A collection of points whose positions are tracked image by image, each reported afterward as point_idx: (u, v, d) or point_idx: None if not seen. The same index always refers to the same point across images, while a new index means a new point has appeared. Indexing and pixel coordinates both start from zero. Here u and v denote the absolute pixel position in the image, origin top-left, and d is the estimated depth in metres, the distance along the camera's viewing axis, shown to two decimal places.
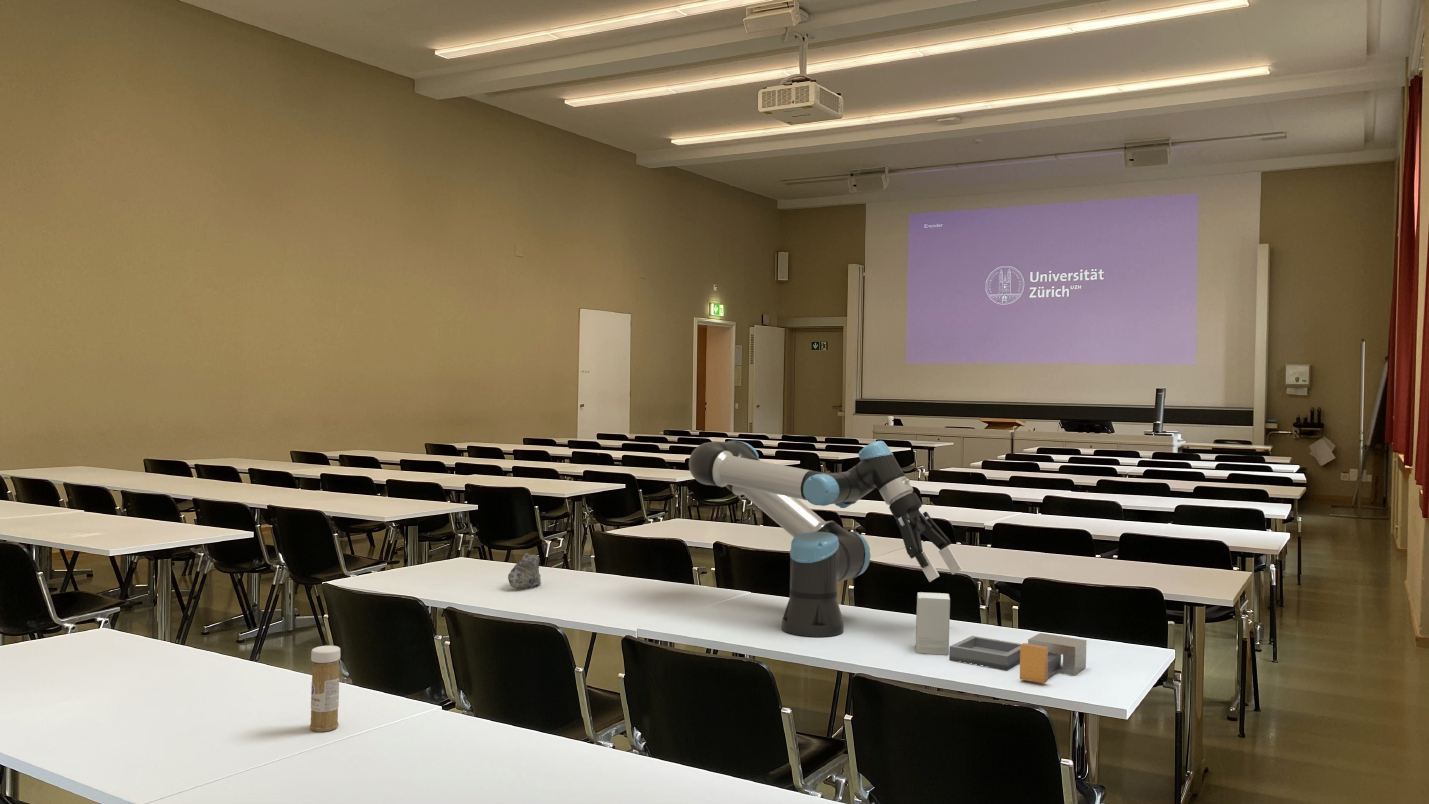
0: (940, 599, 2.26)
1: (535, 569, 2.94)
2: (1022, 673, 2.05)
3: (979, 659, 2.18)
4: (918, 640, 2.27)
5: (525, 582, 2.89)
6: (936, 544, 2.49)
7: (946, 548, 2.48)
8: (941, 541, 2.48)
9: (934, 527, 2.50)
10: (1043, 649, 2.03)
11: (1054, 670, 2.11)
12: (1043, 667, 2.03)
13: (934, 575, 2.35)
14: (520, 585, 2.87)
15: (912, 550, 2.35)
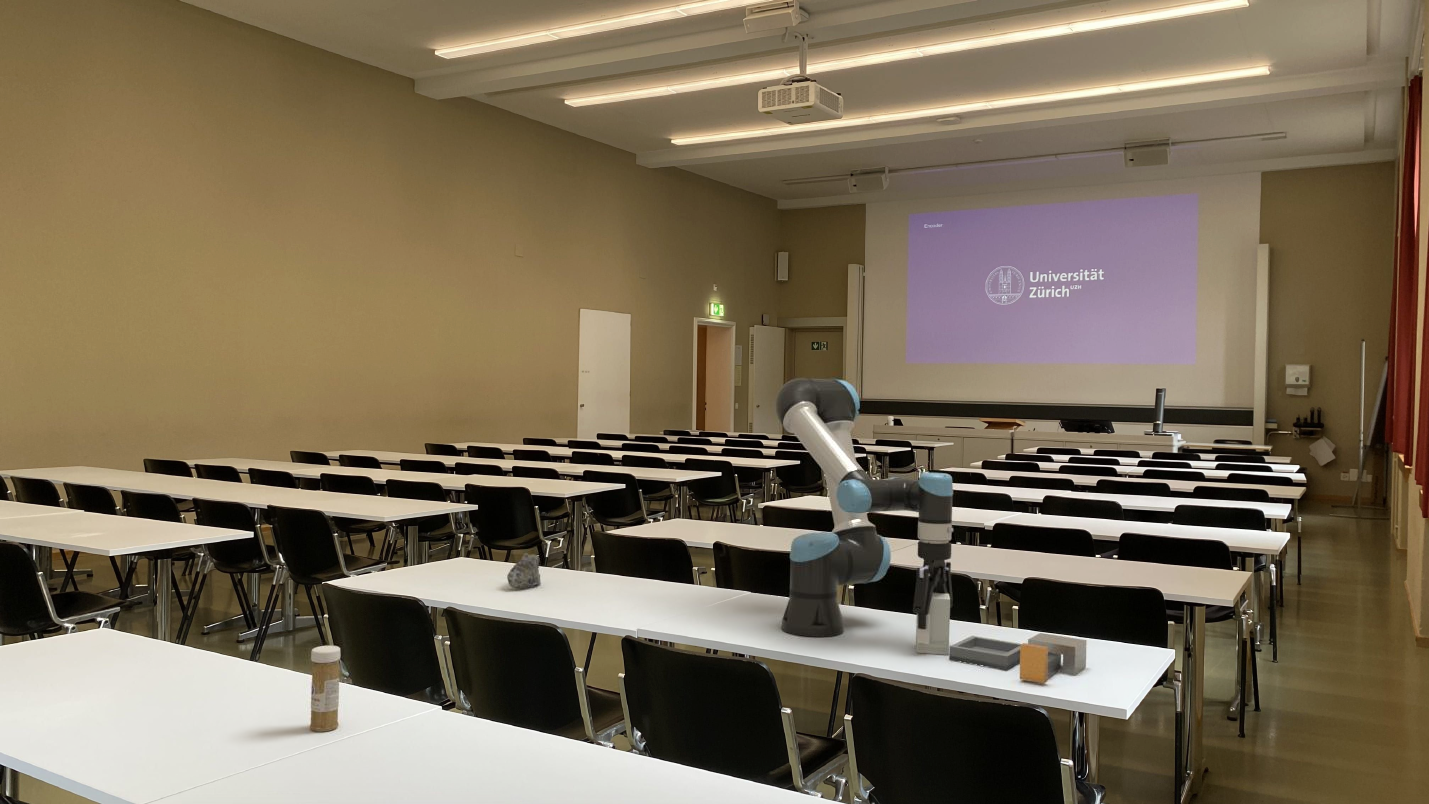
0: (940, 599, 2.26)
1: (535, 569, 2.94)
2: (1022, 673, 2.05)
3: (979, 659, 2.18)
4: None
5: (524, 582, 2.89)
6: None
7: None
8: None
9: (947, 581, 2.34)
10: (1043, 649, 2.03)
11: (1054, 670, 2.11)
12: (1043, 667, 2.03)
13: (925, 640, 2.25)
14: (519, 585, 2.88)
15: (918, 610, 2.23)
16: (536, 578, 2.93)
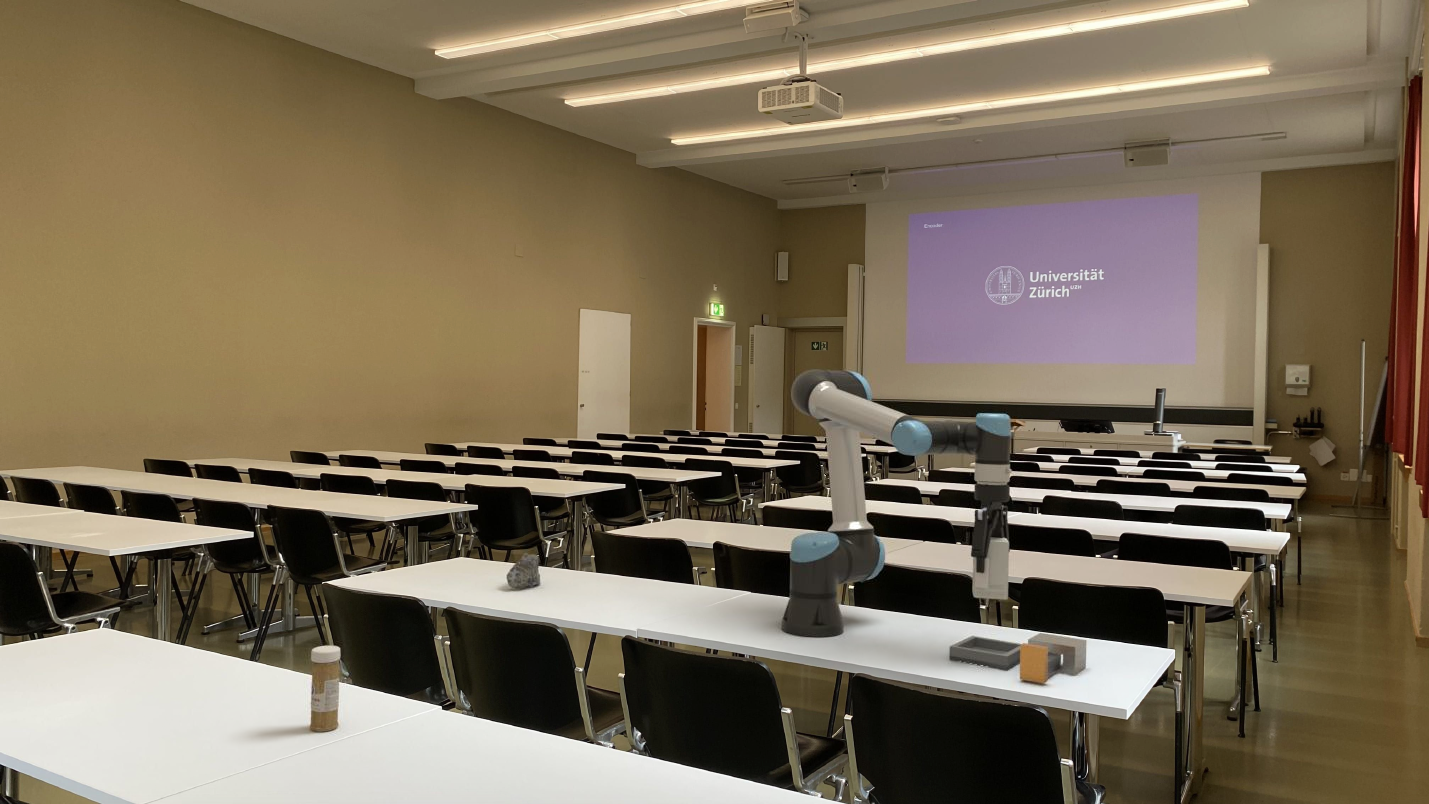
0: (999, 542, 2.19)
1: (534, 569, 2.94)
2: (1022, 673, 2.05)
3: (979, 659, 2.18)
4: None
5: (524, 582, 2.89)
6: None
7: None
8: None
9: (1004, 525, 2.27)
10: (1043, 649, 2.03)
11: (1054, 670, 2.11)
12: (1043, 667, 2.03)
13: (983, 585, 2.18)
14: (518, 585, 2.88)
15: (977, 553, 2.16)
16: (536, 578, 2.93)
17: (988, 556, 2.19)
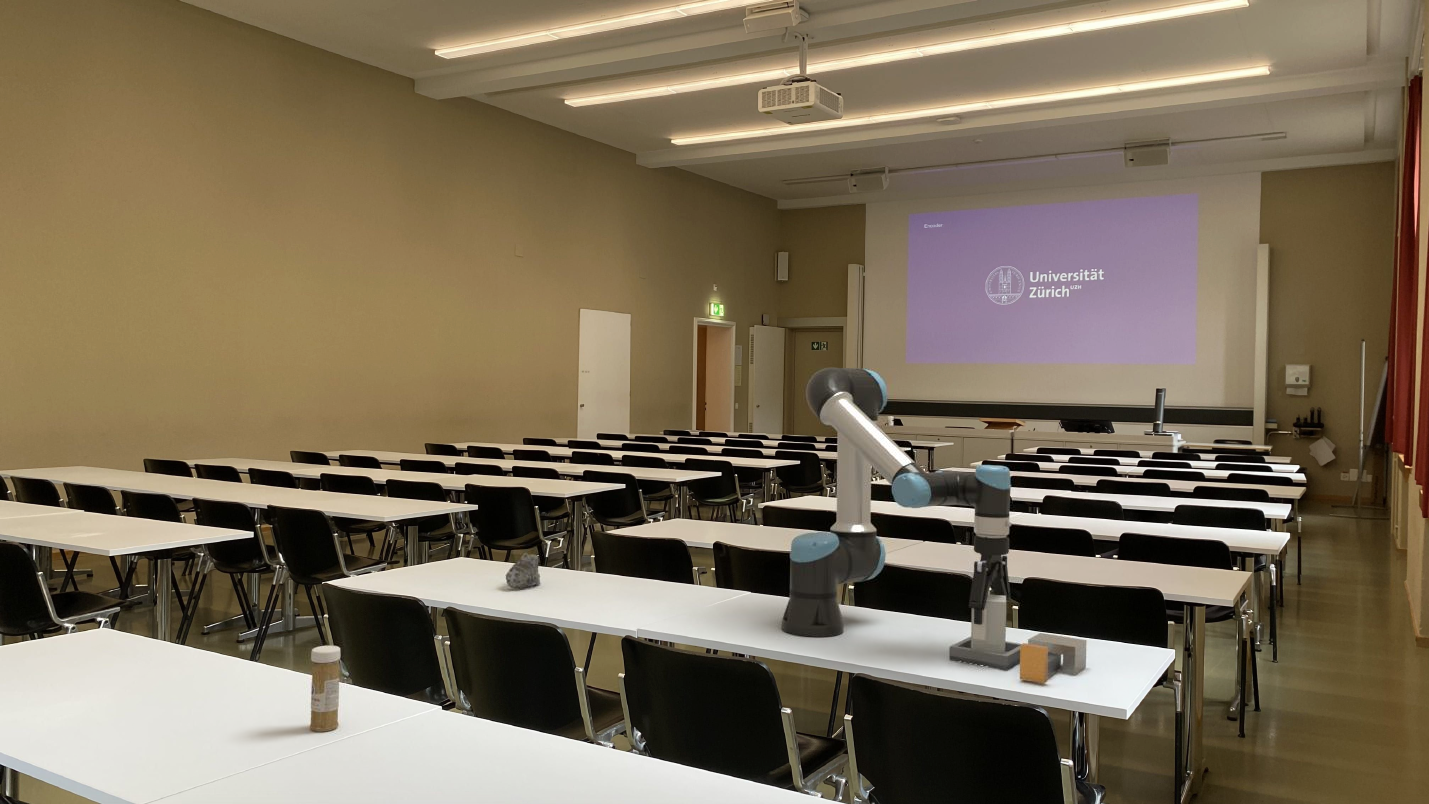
0: (995, 602, 2.19)
1: (534, 569, 2.94)
2: (1022, 673, 2.05)
3: (979, 659, 2.18)
4: (973, 643, 2.20)
5: (523, 582, 2.89)
6: (995, 592, 2.28)
7: None
8: (1002, 593, 2.27)
9: (1004, 575, 2.28)
10: (1043, 649, 2.03)
11: (1054, 670, 2.11)
12: (1043, 667, 2.03)
13: (981, 636, 2.18)
14: (518, 585, 2.88)
15: (975, 605, 2.15)
16: (535, 578, 2.93)
17: None
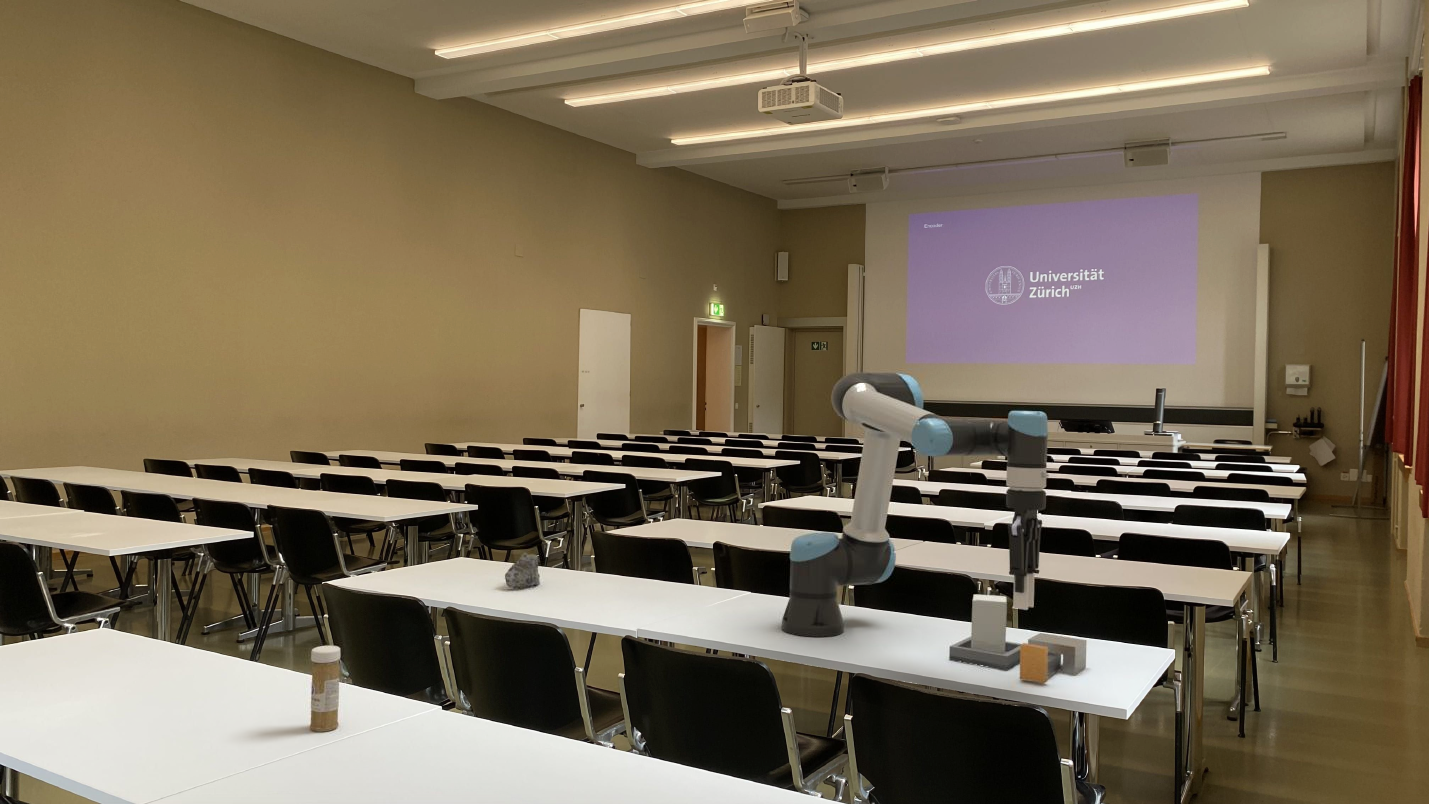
0: (996, 602, 2.19)
1: (533, 569, 2.94)
2: (1022, 673, 2.05)
3: (979, 659, 2.18)
4: (973, 643, 2.21)
5: (522, 582, 2.89)
6: None
7: (1030, 576, 2.00)
8: (1031, 562, 2.00)
9: (1036, 540, 2.02)
10: (1043, 649, 2.03)
11: (1054, 670, 2.11)
12: (1043, 667, 2.03)
13: (1023, 606, 1.97)
14: (517, 585, 2.88)
15: (1017, 571, 1.95)
16: (534, 578, 2.93)
17: (985, 615, 2.20)
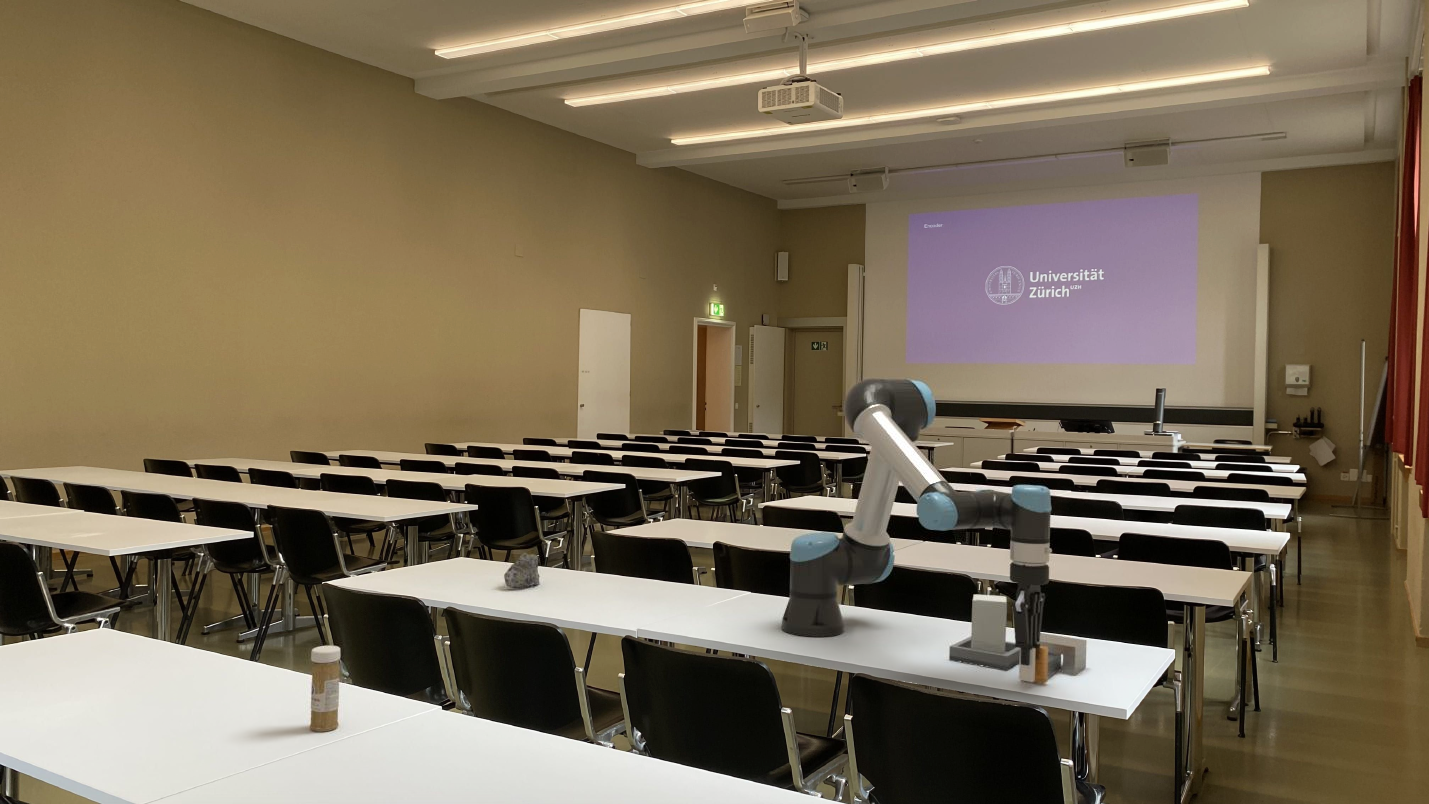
0: (996, 602, 2.19)
1: (533, 569, 2.94)
2: None
3: (979, 659, 2.18)
4: (973, 643, 2.21)
5: (521, 582, 2.89)
6: None
7: None
8: (1032, 635, 2.02)
9: (1038, 614, 2.04)
10: (1043, 649, 2.03)
11: (1054, 670, 2.11)
12: (1043, 667, 2.03)
13: (1028, 678, 2.01)
14: (516, 584, 2.88)
15: (1022, 644, 1.99)
16: (534, 578, 2.93)
17: (985, 615, 2.20)
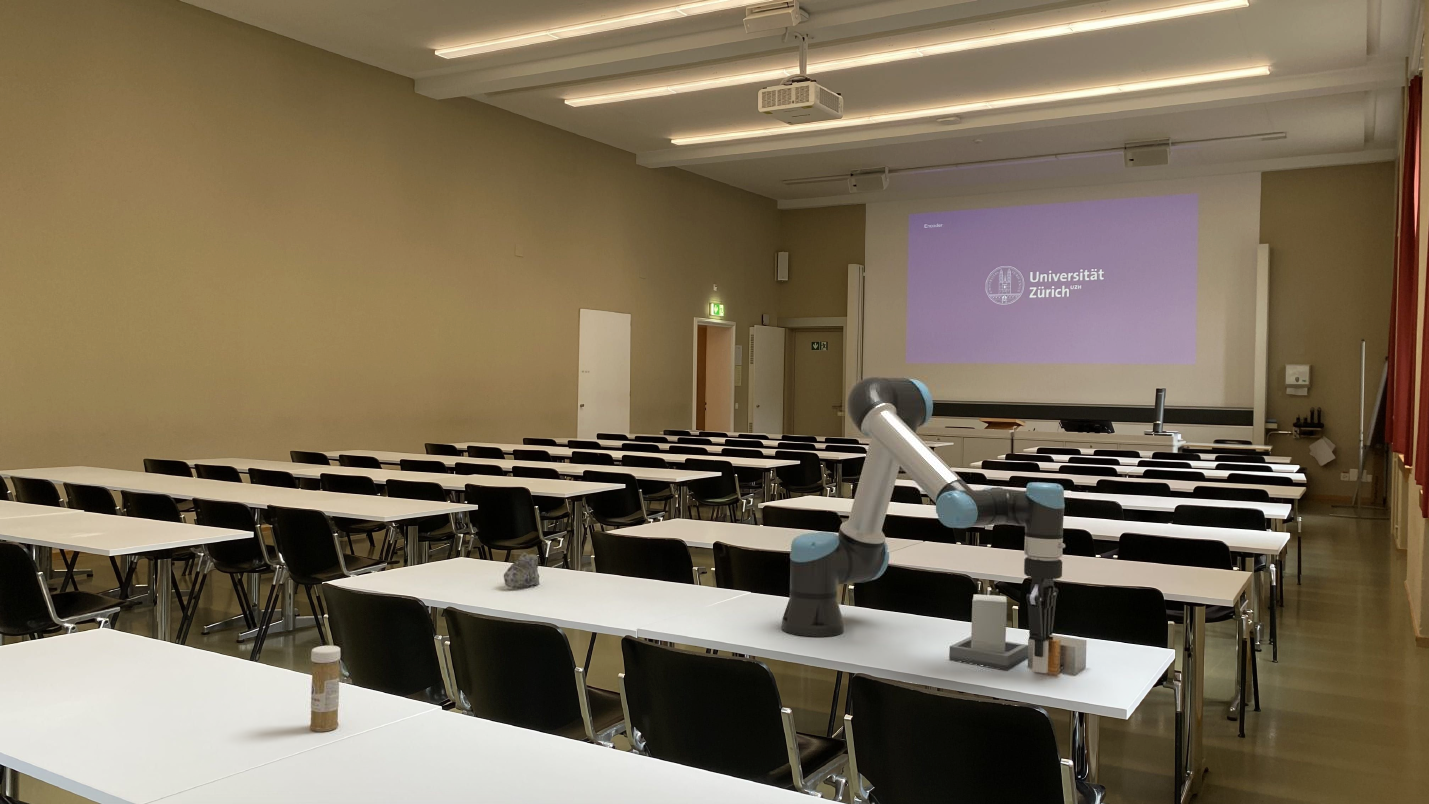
0: (996, 602, 2.19)
1: (532, 569, 2.94)
2: None
3: (979, 659, 2.18)
4: (973, 643, 2.21)
5: (521, 581, 2.89)
6: None
7: None
8: (1046, 628, 2.09)
9: (1051, 607, 2.11)
10: (1056, 642, 2.10)
11: None
12: (1056, 659, 2.09)
13: (1042, 669, 2.08)
14: (515, 584, 2.88)
15: (1036, 636, 2.05)
16: (533, 578, 2.93)
17: (985, 615, 2.20)
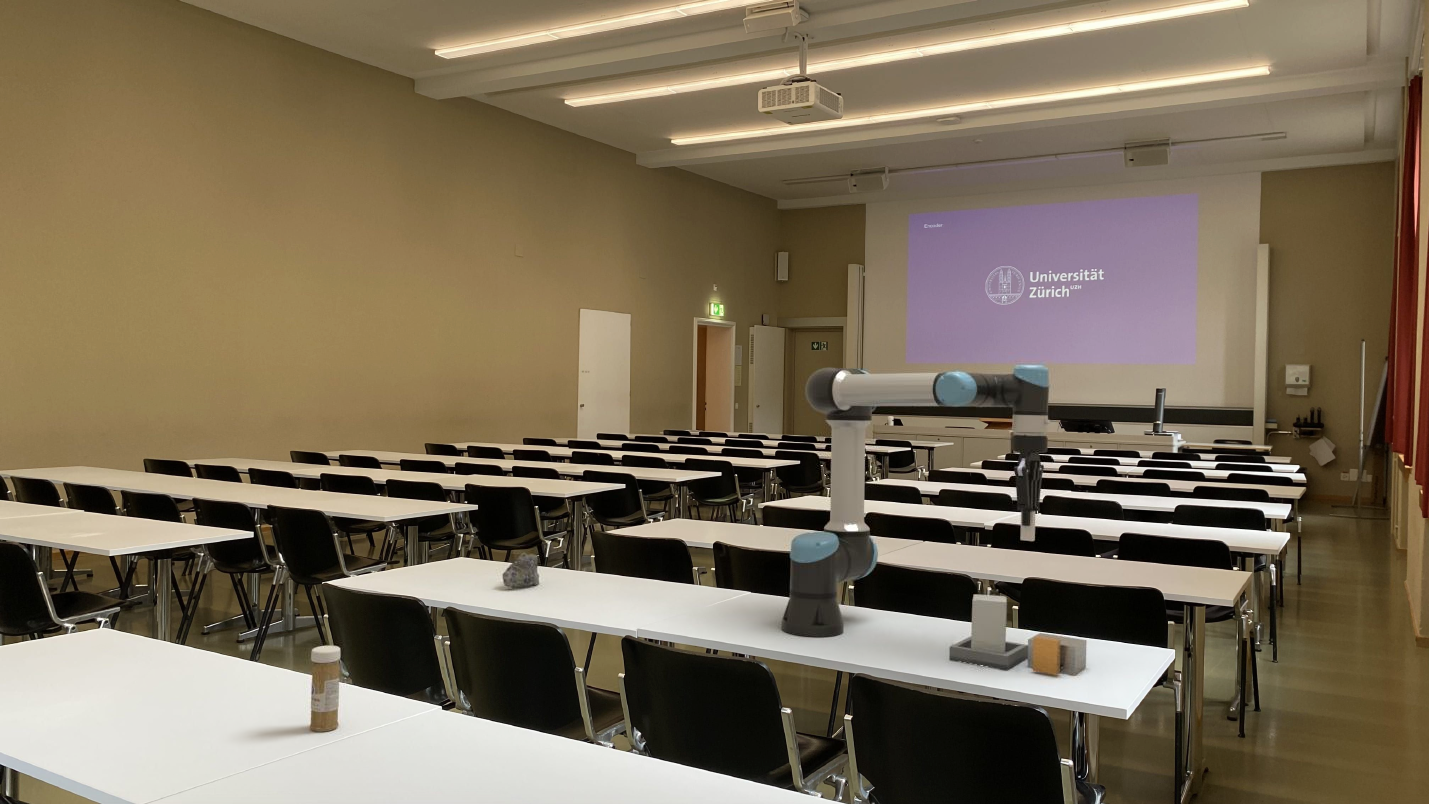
0: (996, 602, 2.19)
1: (531, 569, 2.94)
2: (1035, 665, 2.12)
3: (979, 659, 2.18)
4: (973, 643, 2.21)
5: (519, 581, 2.90)
6: None
7: None
8: (1033, 500, 2.24)
9: (1038, 482, 2.27)
10: (1056, 642, 2.09)
11: None
12: (1056, 659, 2.09)
13: (1029, 537, 2.23)
14: (514, 584, 2.88)
15: (1024, 506, 2.21)
16: (533, 578, 2.93)
17: (985, 615, 2.20)
